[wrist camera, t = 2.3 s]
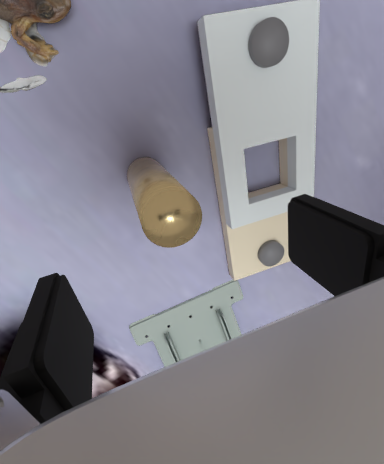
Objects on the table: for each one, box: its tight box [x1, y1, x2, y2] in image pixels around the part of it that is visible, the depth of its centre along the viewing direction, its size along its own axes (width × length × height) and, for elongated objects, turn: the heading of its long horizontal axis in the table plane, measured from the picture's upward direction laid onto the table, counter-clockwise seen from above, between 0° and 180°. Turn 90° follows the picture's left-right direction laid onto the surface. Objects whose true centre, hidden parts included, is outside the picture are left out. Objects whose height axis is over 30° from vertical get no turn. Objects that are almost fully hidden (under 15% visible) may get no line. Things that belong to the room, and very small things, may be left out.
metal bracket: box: [129, 280, 243, 367], centre depth 36 cm, size 14×6×15 cm
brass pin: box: [127, 157, 202, 247], centre depth 20 cm, size 4×4×12 cm
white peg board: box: [197, 0, 320, 281], centre depth 27 cm, size 26×10×4 cm, turn 11°
